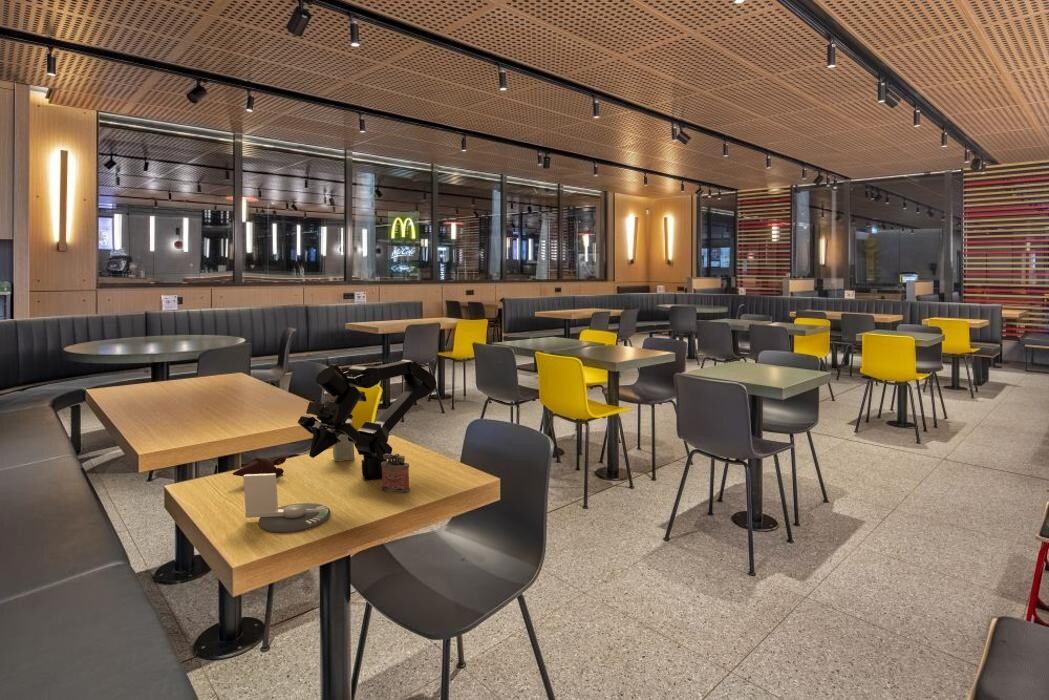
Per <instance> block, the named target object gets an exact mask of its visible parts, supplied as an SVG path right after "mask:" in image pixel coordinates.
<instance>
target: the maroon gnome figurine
mask: <svg viewBox="0 0 1049 700" xmlns="http://www.w3.org/2000/svg"><path fill="white" fill-rule="evenodd" d="M286 461H287V458H286V457H285V456H284V455H283V456H282V455H281V456H278V457H276V458H274V459H272V460H271V459H269V458H268V457H255V458H254V459H253V460H252V461H250V463H249V464H247V465H245V466H243V467H242V468H240V469H237V470H236V471H234V472H232V475H233V476H237V477H243V476H244V475H245V474H271V473H276V476H280V475H282V474H284V471H285V470H284V468H281V467H276V466H279V465H280V466H281V465H282V464H284V463H285V462H286Z"/></svg>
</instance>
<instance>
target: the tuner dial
mask: <svg viewBox="0 0 1049 700" xmlns="http://www.w3.org/2000/svg"><path fill="white" fill-rule="evenodd" d="M298 504H299V505H305V506H306V509H319V508H325V512H306V514H305V515H303V516H301V517H298V518H286V517H284V516H273V517H258V518H259V519H258V527H259V528H260V529H261V530H262V531H265V532H269V533H275V534H276V533H277V534H287V533H288V534H289V533H298V532H303V531H307V530H310V528H311V529H314V528H317V527H319V526H321V525H322V524H324V523H326V522H328V520H329V519H330V518H331V509H330V508H329V507H328V506H326V505H324V504H319V503H315V502H314V503H312V502H307V503H306V502H305V503H304V502H303V503H301V502H300V503H292V504H288V505H283V506H278V509H284V508H286V507H288V506H291V505H298ZM316 526H317V527H316ZM306 529H307V530H306Z"/></svg>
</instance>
